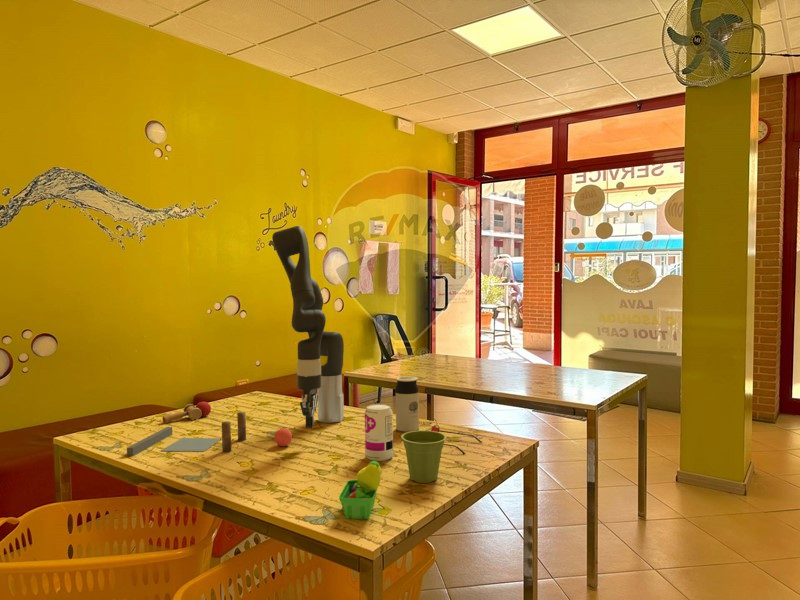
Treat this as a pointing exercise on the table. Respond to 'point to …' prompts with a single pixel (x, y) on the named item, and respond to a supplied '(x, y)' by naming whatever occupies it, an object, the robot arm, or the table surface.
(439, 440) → the plant pot
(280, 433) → the ball
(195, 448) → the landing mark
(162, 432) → the wall
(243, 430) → the gate post
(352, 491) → the fruit basket
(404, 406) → the travel mug
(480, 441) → the glasses
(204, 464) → the table surface
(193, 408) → the kendama
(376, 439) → the supplement can
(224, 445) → the gate post
